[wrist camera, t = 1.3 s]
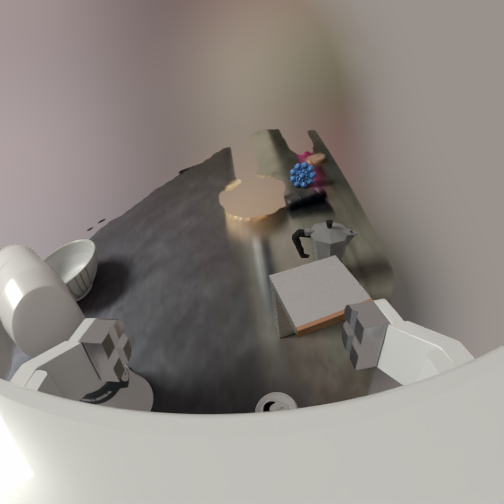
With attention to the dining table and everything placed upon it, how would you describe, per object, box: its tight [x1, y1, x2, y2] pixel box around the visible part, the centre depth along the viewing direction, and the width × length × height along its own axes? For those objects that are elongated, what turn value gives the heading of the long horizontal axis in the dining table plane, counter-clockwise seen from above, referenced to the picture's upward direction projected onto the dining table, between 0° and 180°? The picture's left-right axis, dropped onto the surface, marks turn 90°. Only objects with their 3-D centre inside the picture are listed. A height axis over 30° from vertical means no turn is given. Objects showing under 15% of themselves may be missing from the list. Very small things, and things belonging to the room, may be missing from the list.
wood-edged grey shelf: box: [269, 255, 373, 338], centre depth 52 cm, size 14×14×16 cm
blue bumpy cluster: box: [290, 162, 316, 188], centre depth 114 cm, size 12×7×12 cm, turn 70°
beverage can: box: [255, 392, 298, 413], centre depth 39 cm, size 6×6×12 cm
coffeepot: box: [292, 220, 357, 264], centre depth 66 cm, size 15×9×18 cm, turn 80°
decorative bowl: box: [44, 239, 98, 302], centre depth 78 cm, size 27×27×12 cm
